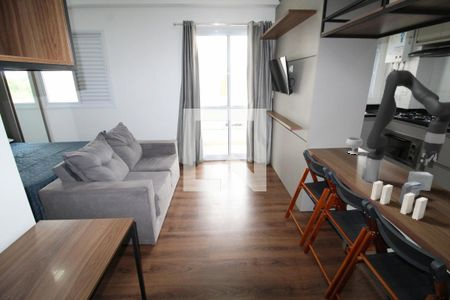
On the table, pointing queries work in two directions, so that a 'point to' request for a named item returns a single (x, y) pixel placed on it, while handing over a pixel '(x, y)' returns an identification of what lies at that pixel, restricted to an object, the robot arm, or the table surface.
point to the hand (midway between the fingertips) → (425, 169)
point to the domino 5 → (419, 208)
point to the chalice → (354, 144)
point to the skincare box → (421, 179)
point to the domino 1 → (376, 190)
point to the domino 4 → (407, 203)
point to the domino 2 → (386, 194)
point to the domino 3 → (405, 192)
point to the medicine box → (415, 187)
